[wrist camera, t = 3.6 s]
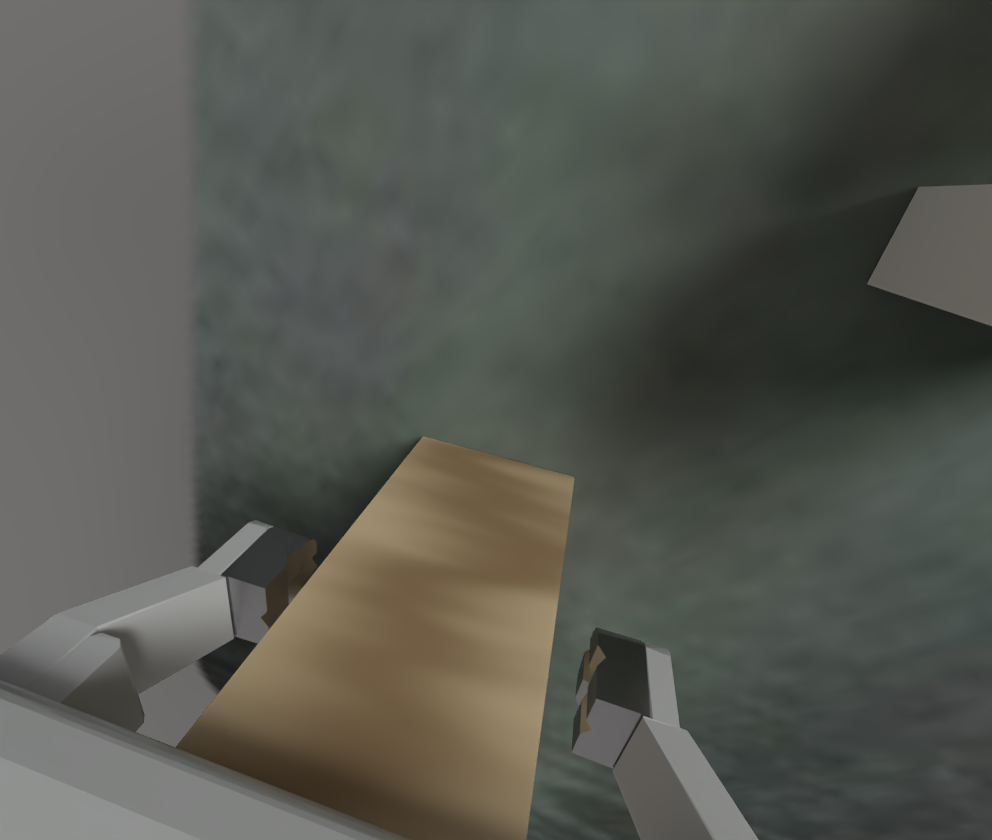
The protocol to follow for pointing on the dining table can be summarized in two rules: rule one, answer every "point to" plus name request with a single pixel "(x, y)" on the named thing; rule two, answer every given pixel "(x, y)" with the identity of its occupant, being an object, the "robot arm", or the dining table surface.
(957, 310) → the domino
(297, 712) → the domino
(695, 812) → the robot arm
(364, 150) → the dining table surface
